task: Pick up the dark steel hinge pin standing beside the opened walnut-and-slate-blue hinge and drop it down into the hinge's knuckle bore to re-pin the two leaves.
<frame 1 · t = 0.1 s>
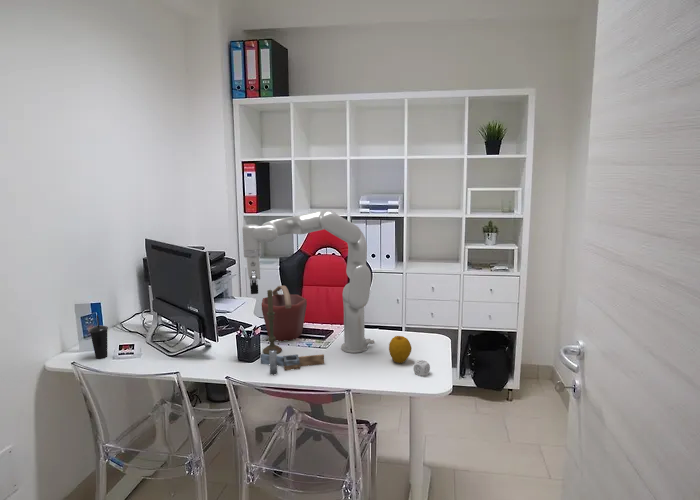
hand: (254, 291, 223), 31 cm above the table, tool pointing down, fingers open, 9 cm apart
apple: (399, 362, 222), on the table
drinking cup: (101, 357, 232), on the table
die: (421, 374, 210), on the table
hinge pin: (273, 373, 212), on the table
hinge: (291, 366, 219), on the table
bucket: (285, 335, 257), on the table
candlestick holder: (272, 351, 236), on the table
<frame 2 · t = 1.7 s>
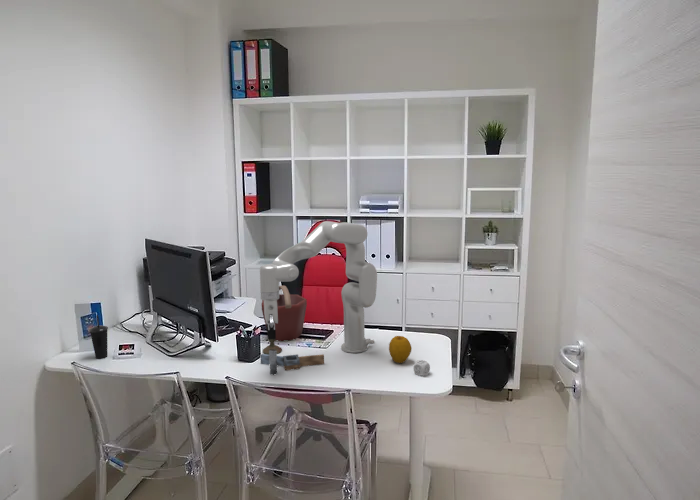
hand: (271, 335, 209), 17 cm above the table, tool pointing down, fingers open, 9 cm apart
nothing on the table moved.
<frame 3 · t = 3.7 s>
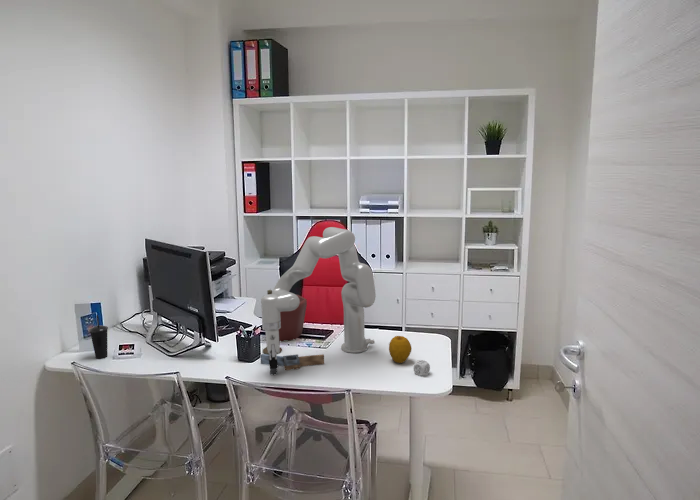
hand: (273, 366, 212), 3 cm above the table, tool pointing down, fingers closed on hinge pin, 3 cm apart
hinge pin: (273, 373, 212), on the table, touching gripper
everything else where it was.
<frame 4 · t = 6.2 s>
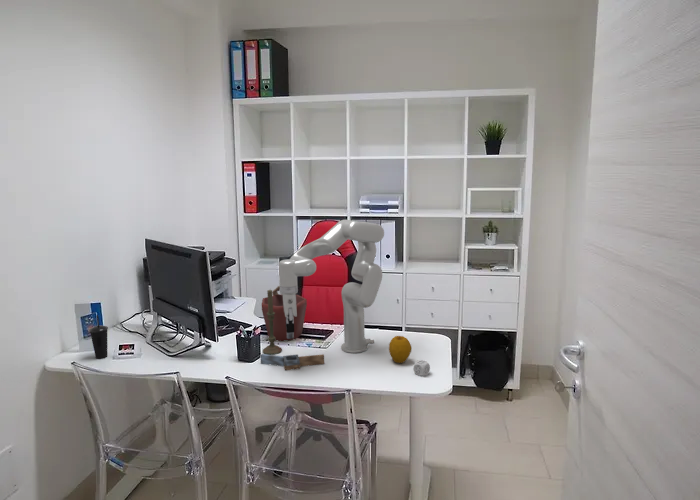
hand: (290, 330, 215), 16 cm above the table, tool pointing down, fingers closed on hinge pin, 3 cm apart
hinge pin: (290, 337, 216), point 13 cm above the table, touching gripper
everything else where it was.
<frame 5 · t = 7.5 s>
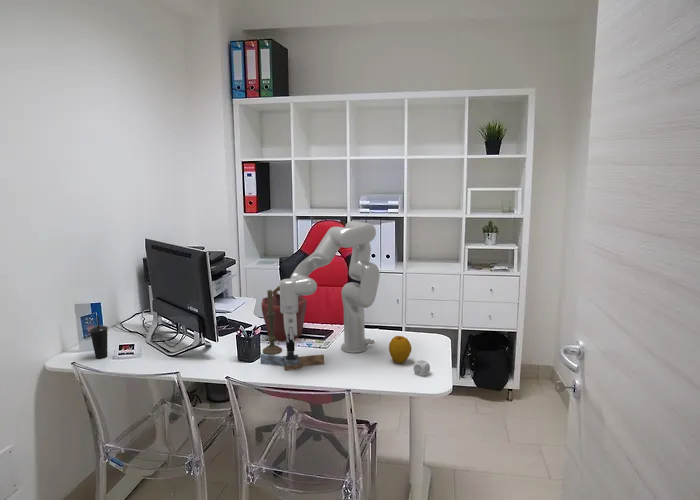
hand: (290, 349, 217), 8 cm above the table, tool pointing down, fingers closed on hinge pin, 3 cm apart
hinge pin: (290, 356, 217), point 5 cm above the table, touching gripper
everything else where it was.
when the fingers open (5 cm above the table, at t = 8.8 s): hinge pin drops 1 cm, resting in hinge.
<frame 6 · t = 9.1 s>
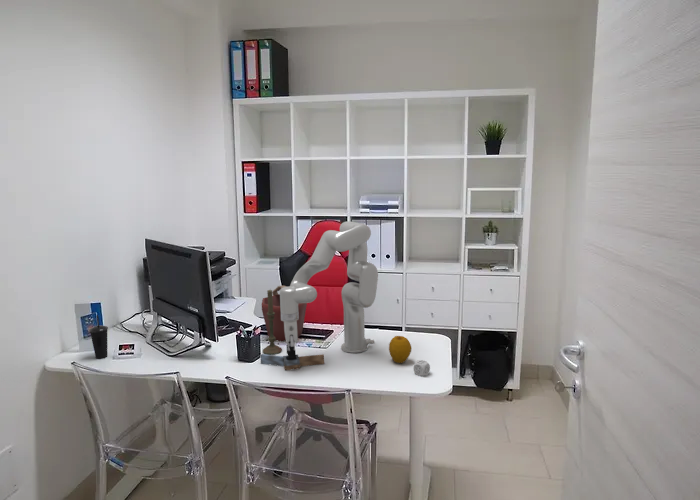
hand: (291, 355, 218), 5 cm above the table, tool pointing down, fingers open, 5 cm apart
hinge pin: (291, 366, 219), resting in hinge
everything else where it was.
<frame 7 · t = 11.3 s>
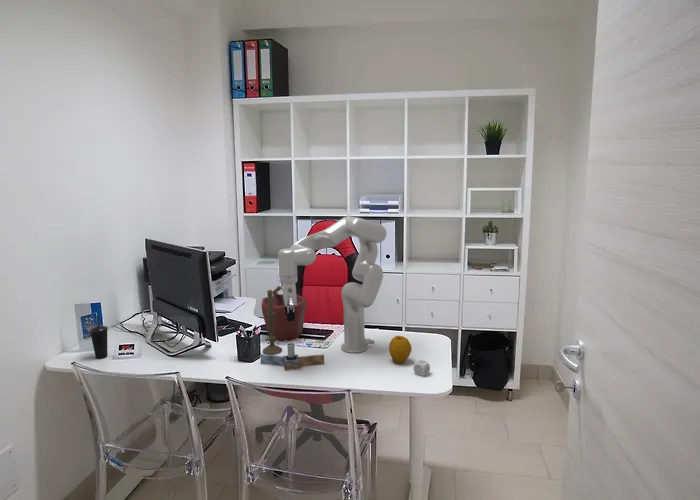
hand: (290, 317, 215), 22 cm above the table, tool pointing down, fingers open, 9 cm apart
nothing on the table moved.
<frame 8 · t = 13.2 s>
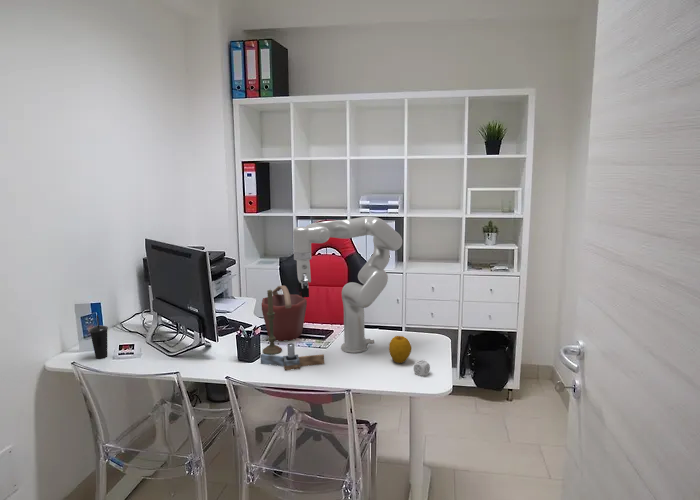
hand: (303, 294, 220), 30 cm above the table, tool pointing down, fingers open, 9 cm apart
nothing on the table moved.
at the end: hinge pin 0.1 cm off-centre on the hinge, point 0.0 cm above the hinge's base; hinge pin tilted 0°; the gripper is holding nothing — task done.
